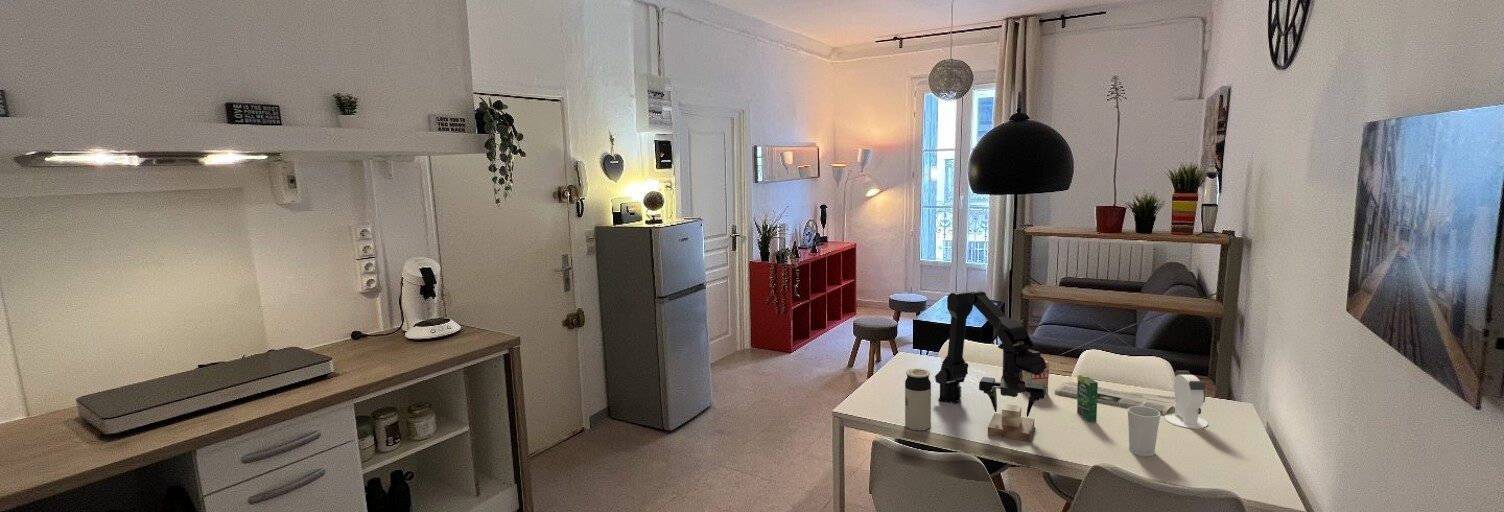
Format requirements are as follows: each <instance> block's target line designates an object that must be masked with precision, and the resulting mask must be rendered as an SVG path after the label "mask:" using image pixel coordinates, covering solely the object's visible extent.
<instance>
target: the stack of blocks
mask: <svg viewBox="0 0 1504 512" xmlns="http://www.w3.org/2000/svg"><path fill="white" fill-rule="evenodd" d="M1044 360H1045V362H1046V367H1045V370H1044V371H1043V373H1041V374H1040V375H1034V374H1031V373H1029V372H1026V371H1024V370H1023V375H1022V381H1025V386H1031V385H1032V383H1037V384H1044V385H1045V386H1046V394H1045V396H1046V395H1048V394H1049V377H1050V376H1049V375H1050V362H1049V360H1047V359H1046V358H1044ZM1026 393H1027V394H1028V393H1029V392H1026ZM1028 395H1030V393H1029V394H1028Z"/></svg>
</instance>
